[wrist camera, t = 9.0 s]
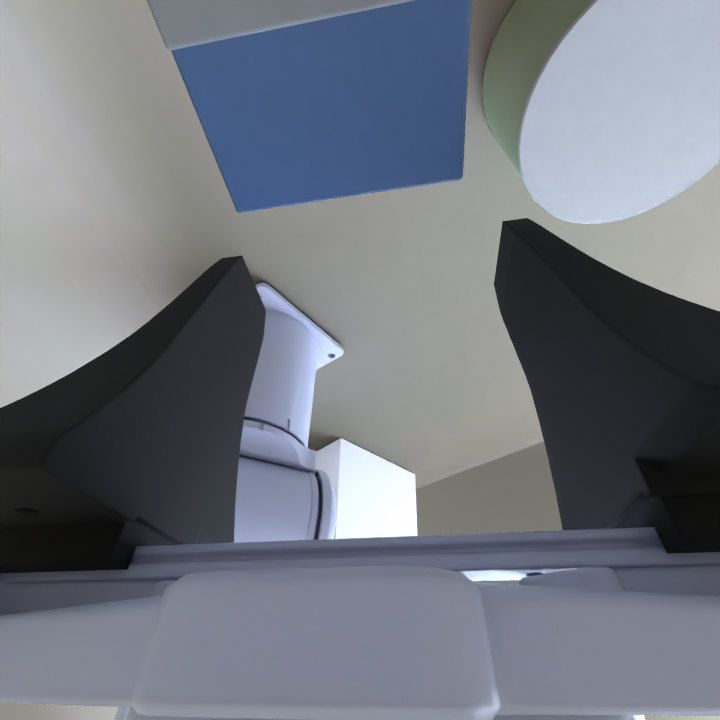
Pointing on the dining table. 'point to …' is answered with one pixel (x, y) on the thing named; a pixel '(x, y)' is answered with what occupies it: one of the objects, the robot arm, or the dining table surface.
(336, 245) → the dining table surface
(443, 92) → the block
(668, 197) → the green yogurt
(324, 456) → the milk
